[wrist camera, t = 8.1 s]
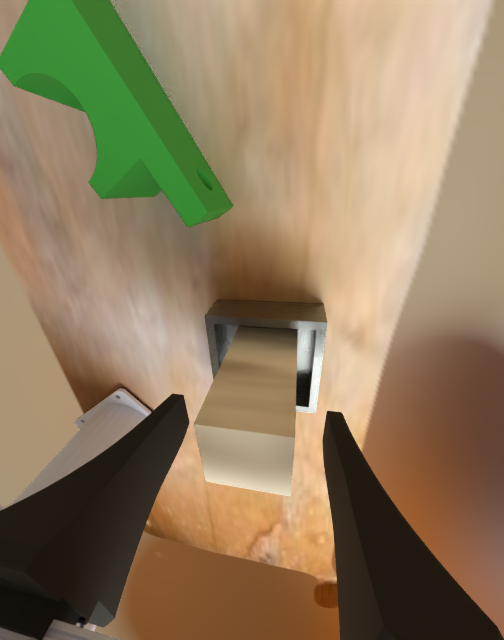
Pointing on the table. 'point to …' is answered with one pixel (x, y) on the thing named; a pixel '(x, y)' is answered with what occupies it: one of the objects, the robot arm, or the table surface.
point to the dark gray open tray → (274, 316)
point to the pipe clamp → (113, 104)
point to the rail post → (252, 413)
